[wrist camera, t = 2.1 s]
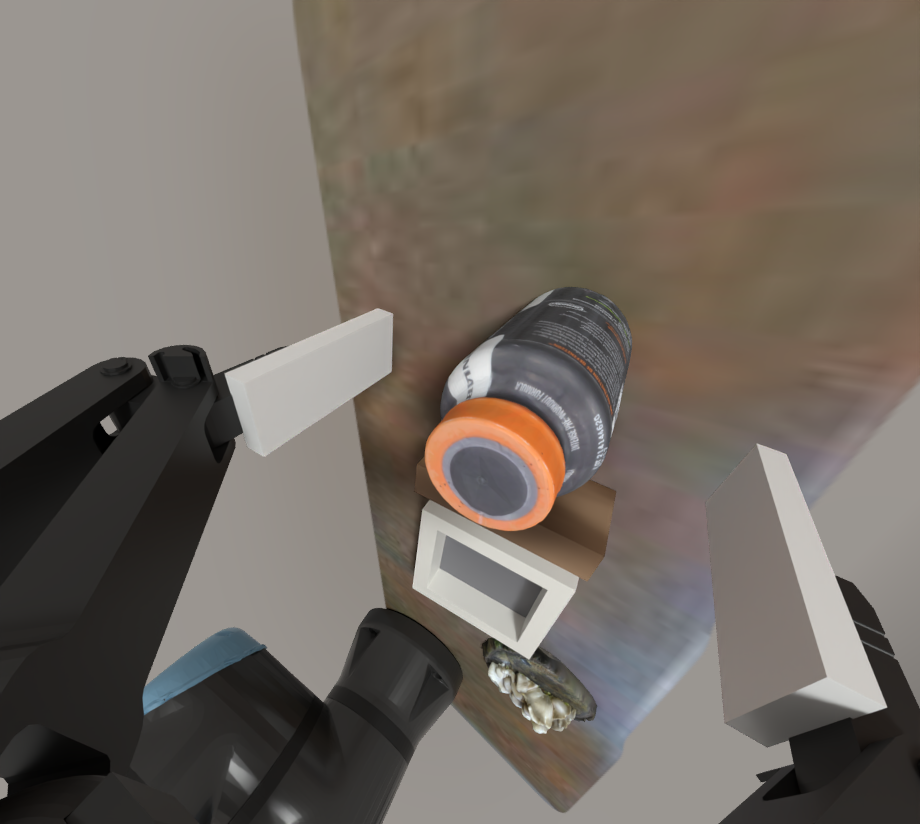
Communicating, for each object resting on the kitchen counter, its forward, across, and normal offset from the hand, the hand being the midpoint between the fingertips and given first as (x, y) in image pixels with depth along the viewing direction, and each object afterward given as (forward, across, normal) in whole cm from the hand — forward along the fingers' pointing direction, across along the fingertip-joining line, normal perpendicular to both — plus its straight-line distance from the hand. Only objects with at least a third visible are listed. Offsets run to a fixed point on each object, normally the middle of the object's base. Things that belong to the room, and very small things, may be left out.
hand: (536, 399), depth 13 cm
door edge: (+7, 0, +9) cm, 11 cm away
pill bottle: (+7, 0, 0) cm, 7 cm away
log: (+7, -8, +35) cm, 36 cm away
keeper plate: (+6, 0, +21) cm, 22 cm away
